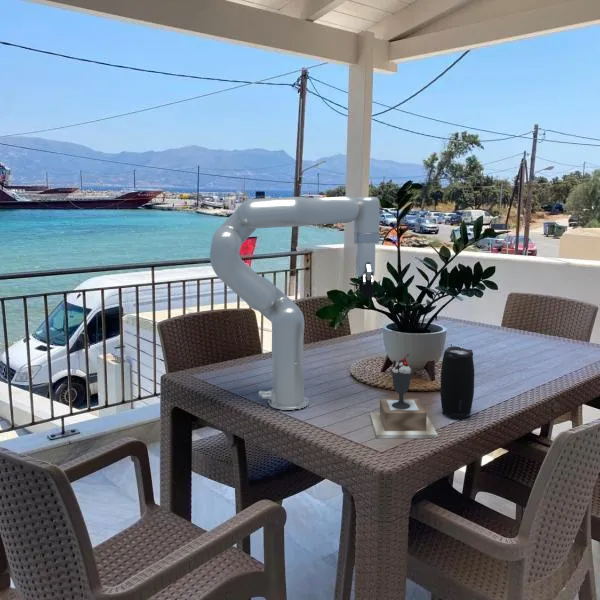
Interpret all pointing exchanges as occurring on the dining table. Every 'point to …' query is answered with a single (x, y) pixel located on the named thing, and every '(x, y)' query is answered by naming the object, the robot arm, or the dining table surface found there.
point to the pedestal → (402, 420)
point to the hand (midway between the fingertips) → (366, 294)
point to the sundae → (401, 381)
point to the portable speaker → (457, 382)
